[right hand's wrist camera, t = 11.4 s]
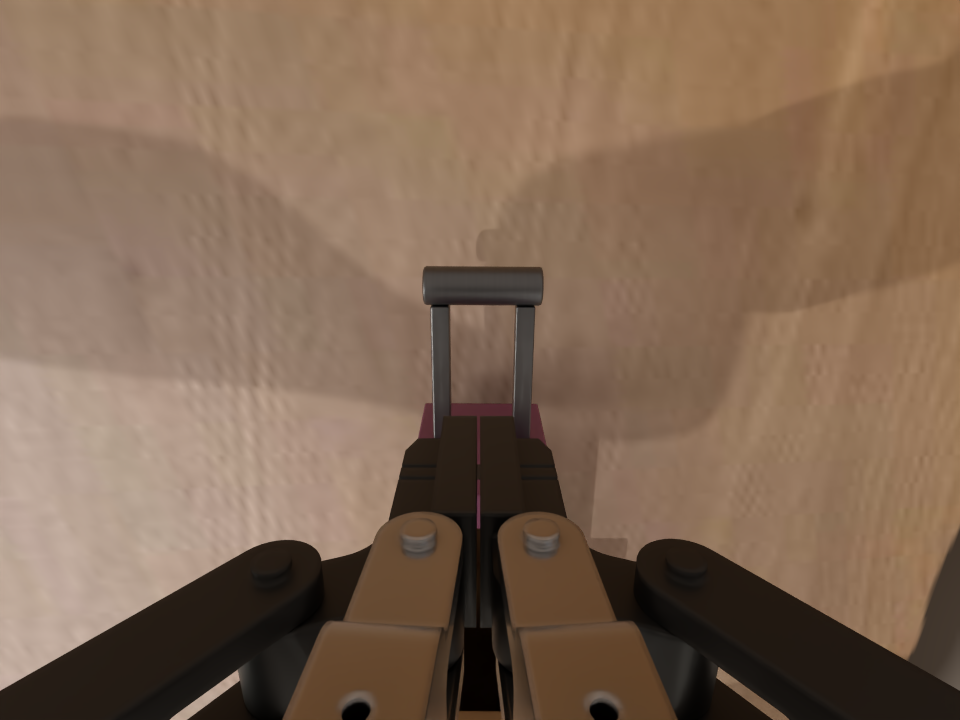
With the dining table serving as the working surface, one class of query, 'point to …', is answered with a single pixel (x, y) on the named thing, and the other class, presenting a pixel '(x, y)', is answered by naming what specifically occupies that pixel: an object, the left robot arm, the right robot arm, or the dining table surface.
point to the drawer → (482, 413)
